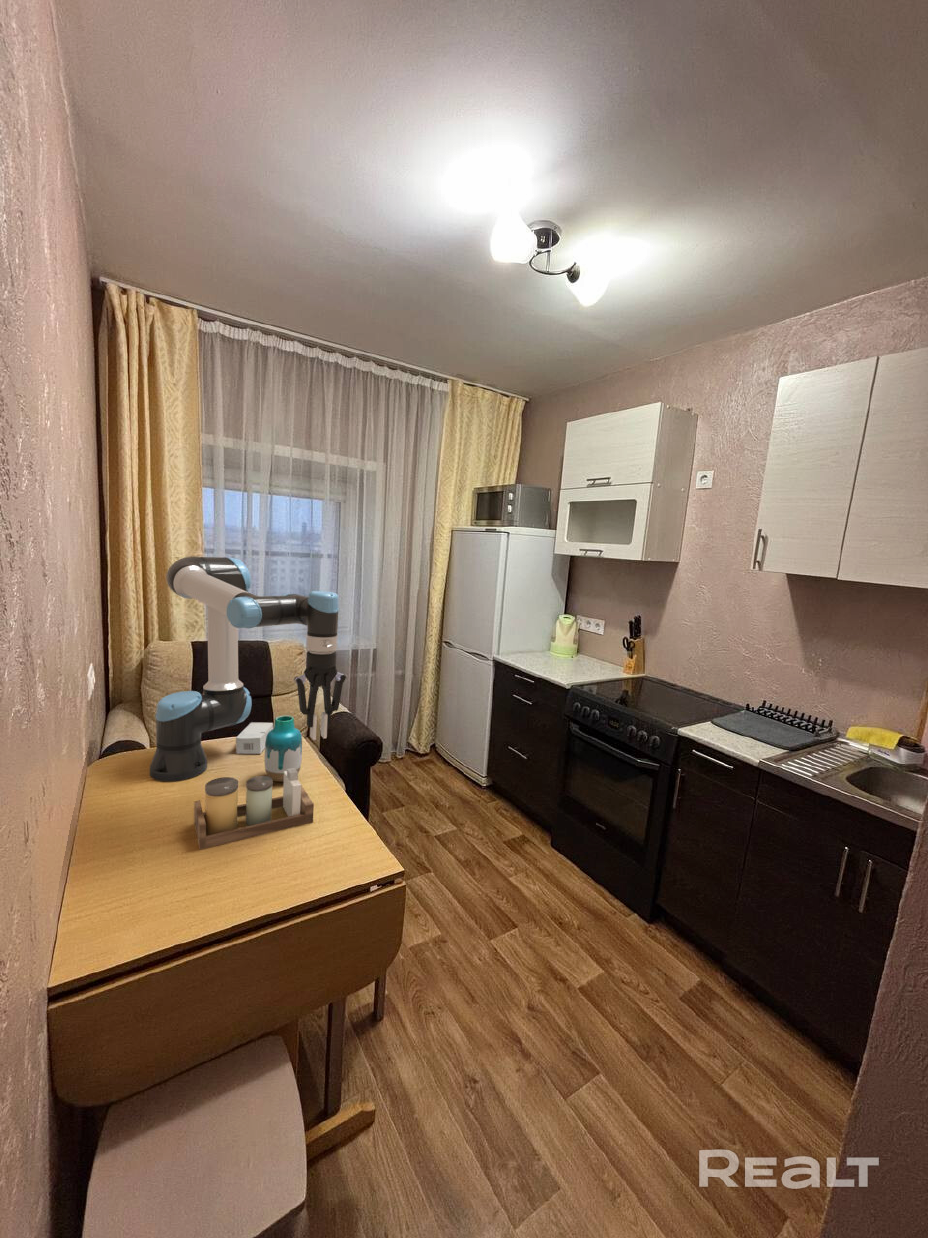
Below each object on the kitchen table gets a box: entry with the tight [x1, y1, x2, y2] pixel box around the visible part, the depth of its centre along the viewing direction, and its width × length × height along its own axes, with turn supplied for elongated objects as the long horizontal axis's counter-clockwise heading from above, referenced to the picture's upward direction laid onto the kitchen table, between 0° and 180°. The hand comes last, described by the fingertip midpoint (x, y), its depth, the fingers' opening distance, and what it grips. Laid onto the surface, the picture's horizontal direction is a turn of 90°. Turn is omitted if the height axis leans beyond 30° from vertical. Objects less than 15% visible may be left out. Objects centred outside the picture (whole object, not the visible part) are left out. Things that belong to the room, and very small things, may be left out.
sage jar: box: [245, 775, 274, 827], centre depth 124 cm, size 6×6×11 cm
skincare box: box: [235, 722, 274, 755], centre depth 170 cm, size 8×6×15 cm
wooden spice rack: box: [193, 784, 315, 850], centre depth 124 cm, size 12×26×6 cm, turn 124°
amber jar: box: [204, 776, 239, 836], centre depth 119 cm, size 7×7×12 cm
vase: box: [264, 714, 303, 783], centre depth 147 cm, size 11×11×19 cm
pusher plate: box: [282, 768, 302, 817], centre depth 129 cm, size 9×2×12 cm, turn 34°
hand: (318, 737), depth 130 cm, fingers open, 2 cm apart
